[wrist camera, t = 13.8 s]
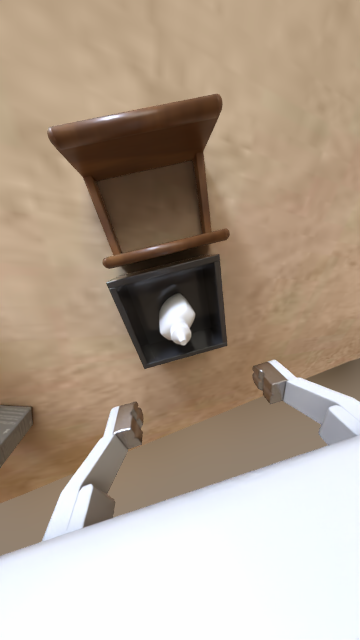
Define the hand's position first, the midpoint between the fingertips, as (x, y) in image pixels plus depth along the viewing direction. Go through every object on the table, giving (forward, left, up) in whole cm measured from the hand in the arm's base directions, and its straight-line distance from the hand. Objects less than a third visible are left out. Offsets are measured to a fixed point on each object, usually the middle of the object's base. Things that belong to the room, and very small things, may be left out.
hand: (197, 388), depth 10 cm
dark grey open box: (0, 0, -19) cm, 19 cm away
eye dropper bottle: (0, 0, -18) cm, 18 cm away
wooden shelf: (-14, +1, -19) cm, 23 cm away
